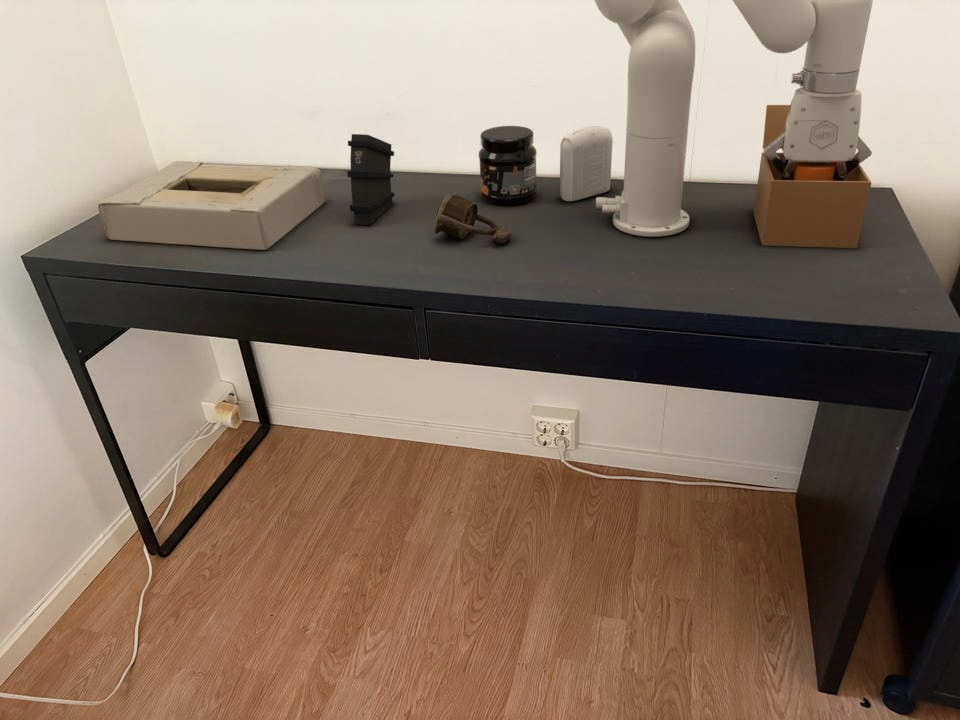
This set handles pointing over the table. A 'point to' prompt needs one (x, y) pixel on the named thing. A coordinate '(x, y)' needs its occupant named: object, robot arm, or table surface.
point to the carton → (810, 209)
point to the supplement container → (508, 165)
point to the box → (214, 205)
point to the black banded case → (370, 178)
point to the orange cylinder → (814, 171)
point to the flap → (774, 122)
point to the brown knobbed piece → (466, 220)
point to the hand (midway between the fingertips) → (808, 198)
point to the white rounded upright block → (585, 163)
